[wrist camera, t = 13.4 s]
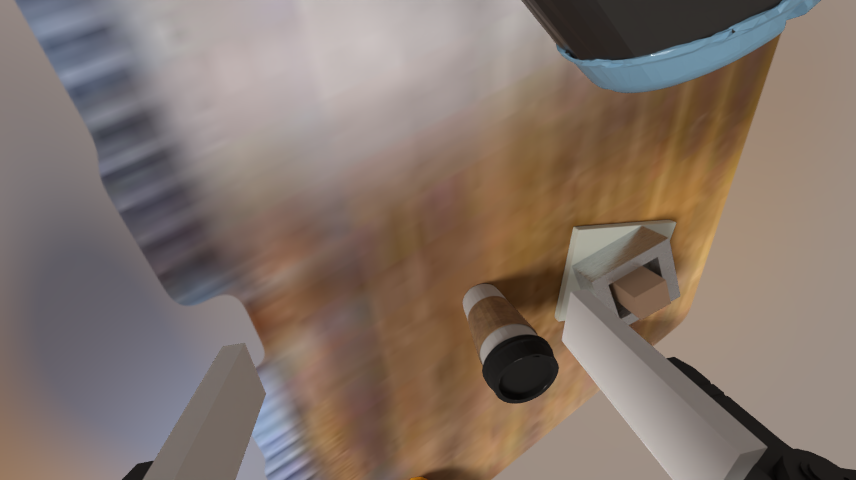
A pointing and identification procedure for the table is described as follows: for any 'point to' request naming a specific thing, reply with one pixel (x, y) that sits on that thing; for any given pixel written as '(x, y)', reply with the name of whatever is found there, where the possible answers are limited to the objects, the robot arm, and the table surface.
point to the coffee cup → (508, 347)
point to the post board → (592, 245)
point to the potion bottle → (419, 478)
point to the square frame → (627, 266)
